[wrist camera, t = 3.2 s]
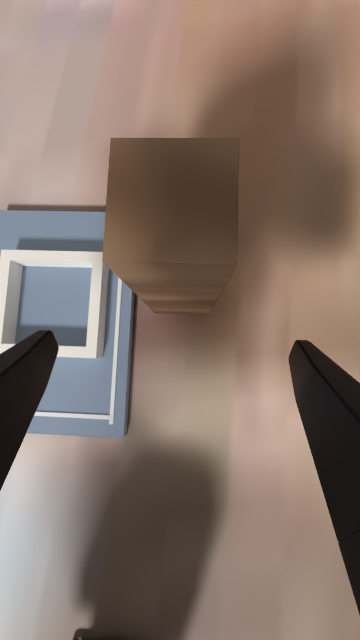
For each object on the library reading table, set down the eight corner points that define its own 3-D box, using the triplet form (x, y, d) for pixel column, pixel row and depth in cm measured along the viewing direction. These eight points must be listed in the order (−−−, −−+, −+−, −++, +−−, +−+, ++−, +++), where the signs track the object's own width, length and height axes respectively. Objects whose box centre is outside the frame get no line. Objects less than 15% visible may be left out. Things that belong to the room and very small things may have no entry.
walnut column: (208, 314, 21) (236, 264, 8) (155, 312, 21) (102, 261, 8) (209, 262, 22) (238, 138, 9) (157, 261, 22) (110, 137, 9)
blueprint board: (126, 433, 20) (118, 446, 18) (-19, 426, 21) (-47, 436, 18) (139, 218, 22) (132, 202, 20) (4, 215, 23) (-18, 200, 20)
